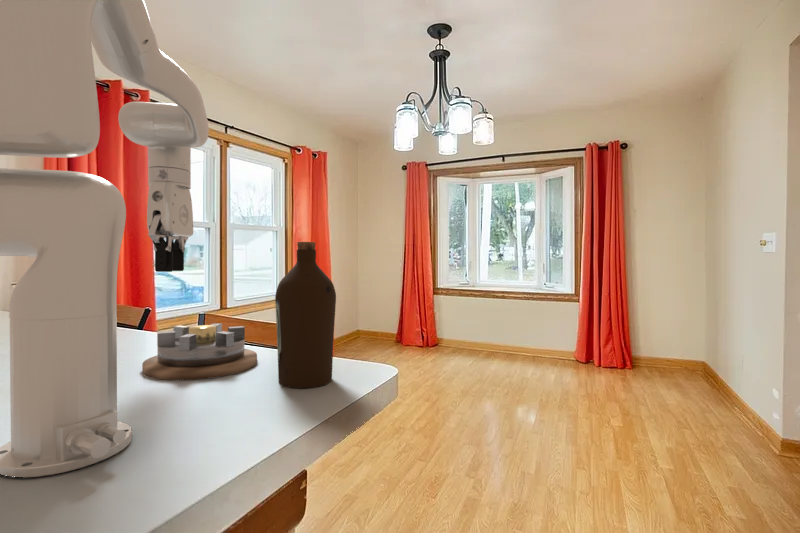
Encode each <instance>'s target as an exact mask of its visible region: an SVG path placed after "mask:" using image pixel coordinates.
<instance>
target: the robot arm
mask: <svg viewBox="0 0 800 533" xmlns="http://www.w3.org/2000/svg"><path fill="white" fill-rule="evenodd" d="M92 45H93V46H92ZM92 47H93V48H94V50H95V52H96V54H97V55H96V56H97V58H98V59H99V61H100V62H101V64H102V65H103V66H104V67H105V68H106V69H107V70H108V71H109V72H111V73H113V74H115V75H116V76H119V77H120V78H122V79H124V80H126V81H129V82H131V83H133V84H136V85H138V86H140V87H143V88H144V89H147V90H150V91H152V92H155V93H158V94H159V95H162V97H165V98H167V99H169V100H170V101H172V102H173V103H167V102H166V103H165V102H151V101H150V102H149V101H130V102H127V103H125V104H123V105H122V106H121V108H120V109H119V112H118V116H117V117H118V126H119V127H120V128H119V129H120V130H121V131H122V133H123V135H124V136H125V137H126V139H128V140H129V141H130V142H132V143H134V144H137V145H140V146H142V147H148V148H147V149H148V150H147V152H148V153H147V156H148V157H147V158H148V159H147V162H148V163H147V164H148V167H147V170H148V171H147V174H148V175H147V176H148V177H147V178H148V187H149V188H148V194H147V196H148V197H147V204H146V205H147V207H146V209H147V211H146V225H147V231H148V233H147V234H148V237H149V238H150V239H151V241H152V243H153V251H154V261H155V262H154V270H155V272H157V273H158V272H159V273H160V272H161V273H162V272H163V273H166V272H167V273H170V272H171V273H172V272H183V271H184V270H185V251H186V248H185V247H186V246H185V245H186V244H187V243H186V242H187V241H188V240H189V238H191V236H193V235H194V214H193V212H194V211H193V201H192V195H191V191H190V190H191V189H192V188H191V185H192V183H191V182H192V181H191V180H192V179H191V178H192V177H191V172H192V171H191V168H192V167H191V164H192V163H191V162H192V161H191V160H192V159H191V157H192V156H191V150H192V148H193V149H196V148H200V147H202V146H204V145H205V144H206V143H207V141H208V139H209V134H210V132H209V130H210V128H209V121H208V116H207V112H206V108H205V103H204V101H203V96H202V94H201V92H200V89H199V87H198V85H197V84H196V83H195V82H194V80H193V79H192V78H191V77H190V75H189V74H188V73H187V72H186V71H185V70H184V69H183V68H182V67H181V66H180V65H179V64H178V63H176V62H175V61H174V60H173V59H172V58H170V57H169V56H168V55H166V54H165V53H164V52H163V51H161V49H160V47H159V44H158V41H157V38H156V34H155V31H154V29H153V26H152V23H151V19H150V15H149V12H148V9H147V5H146V3H145V0H0V156H14V157H17V156H18V157H33V158H37V157H38V158H57V159H58V158H59V159H60V158H63V159H64V158H67V159H68V158H78V157H83V156H86V155H88V154H90V153H91V154H92V152H94V151H95V149H96V148H97V146H98V144H99V141H100V134H101V123H100V122H101V120H100V109H99V100H98V99H99V98H98V90H97V81H96V74H95V73H96V72H95V67H94V66H95V65H94V57H93V49H92ZM126 219H127V207H126V202H125V199H124V196H123V194H122V193H121V191H120V189H118V188H117V186H115V185H114V184H113V183H111V181H108V180H106V179H105V178H103V177H101V176H98V175H95V174H92V173H85V172H81V171H74V170H73V171H71V170H58V169H57V170H56V169H36V168H9V167H8V168H4V167H0V257H29V258H30V257H31V258H36V259H35V260H34V261H33V263H32V264H31V266H29V268H28V269H27V270H26V271H25V272H24V274H22V276H21V277H20V278H19V280H18V281H17V283H16V285H14V288H13V290H12V293H11V295H10V297H9V298H10V299H9V304H8V305H9V306H8V308H9V309H8V310H9V311H8V313H9V314H8V315H9V378H10V379H9V380H10V382H9V383H10V384H9V385H10V388H9V390H10V391H9V392H10V396H9V397H10V441H9V442H6V443H5V444H3V445H1V446H0V474H1V475H7V476H13V477H12V478H15V477H23V478H25V479H26V478H37V477H46V476H51V475H57V474H62V473H67V472H70V471H74V470H80V469H83V468H86V467H88V466H91V465H94V464H97V463H100V462H102V461H104V460H106V459H108V458H111V457H113V456H114V455H115V456H116V454H118V453H120V452H121V451H123V450H124V449H125V448H126V447H128V445H130V443H131V442H132V440H133V428H132V426H130V425H129V424H127V423H125V422H122V421H119V420H118V373H117V372H118V351H117V350H118V347H117V345H118V344H117V342H118V341H117V340H118V339H117V336H118V334H117V333H118V332H117V330H118V328H117V325H118V324H117V323H118V322H117V320H118V319H117V318H118V317H117V316H118V315H117V313H118V312H117V311H118V310H117V307H118V306H117V299H118V296H117V293H118V292H117V290H118V289H117V288H118V286H117V285H118V269H119V261H120V253H121V247H122V242H123V238H124V232H125V228H126ZM1 475H0V476H1ZM14 476H15V477H14ZM23 478H22V479H23Z"/></svg>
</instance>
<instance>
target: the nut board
mask: <svg viewBox="0 0 800 533" xmlns="http://www.w3.org/2000/svg"><path fill="white" fill-rule="evenodd" d="M257 363H258V354H257V352H256V351H254V350H251V349H247V348H244V356H243V357H241V358H239V359H237V360H234V361H230V362H226V363H221V364H215V365H206V366H193V367H177V366H167V365H163V364H160V363H158V361H157V355H153V356H151V357H149V358H147V359H145V360H144V361H143V362H142V363H141V364H142V366H141V367H142V368H141V369H142V370H141V371H142V374H143V375H144V376H145V377H147V378H151V379H154V380H155V379H156V380H162V381H163V380H164V381H192V380H193V381H195V380H207V379H214V378H221V377H226V376H231V375H235V374H238V373H242V372H245V371H247V370H250V369H252V368H253V367H255V366H256V365H257Z"/></svg>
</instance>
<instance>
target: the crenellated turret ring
mask: <svg viewBox="0 0 800 533" xmlns="http://www.w3.org/2000/svg"><path fill="white" fill-rule="evenodd" d="M172 328H173V329H172V331H171V330H170V331H157V332H156V333H157V334H156V342H157V343H156V346H157V347H156V348H157V355H156V356H157V361H158V363H160V364H163V365H167V366H177V367H193V366H206V365H215V364H221V363H226V362H230V361H234V360H237V359H239V358H241V357H243V356H244V349H245V340H246V338H245V331H246V330H245V329H246V328H245V326H244V325H240V326H239V325H238V326H237V325H236V326H227V331H225V330H223V323H218V322H217V323H211V324H209V325H208V324H205V325H204V324H202V325H194V326H187V325H186V326H185V325H176V326H172Z"/></svg>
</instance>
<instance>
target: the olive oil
mask: <svg viewBox="0 0 800 533" xmlns="http://www.w3.org/2000/svg"><path fill="white" fill-rule="evenodd" d="M296 245H297V249H296V263H295V265H294V266H293V267H292V268H291V269H290V270H289V271H288V272H287V274H285V275H284V276H283V277H282V279H281V280H280V281H279V283H278V285H277V287H276V290H275V291H276V292H275V298H274V301H275V303H274V305H275V320H276V321H275V322H276V344H277V345H276V346H277V366H278V367H277V371H278V374H277V376H278V384H280V385H281V386H282V387H285V388H290V389H312V388H319V387H323V386H326V385H328V384H329V383H331V382H332V380H333V379H332V378H333V358H334V357H333V356H334V352H333V351H334V341H335V340H334V339H335V338H334V337H335V322H336V321H335V318H336V306H337V305H336V304H337V293H336V289H335V285H334V283H333V282H332V280H331V279H330V278H329V276H328V275H327V274H326V273H325V272H324V271H323V270H322V269H321V267H320V266H319V265H318V264H317V261H316V260H317V259H316V258H317V250H316V242H314V241H298V242H297V244H296Z"/></svg>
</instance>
